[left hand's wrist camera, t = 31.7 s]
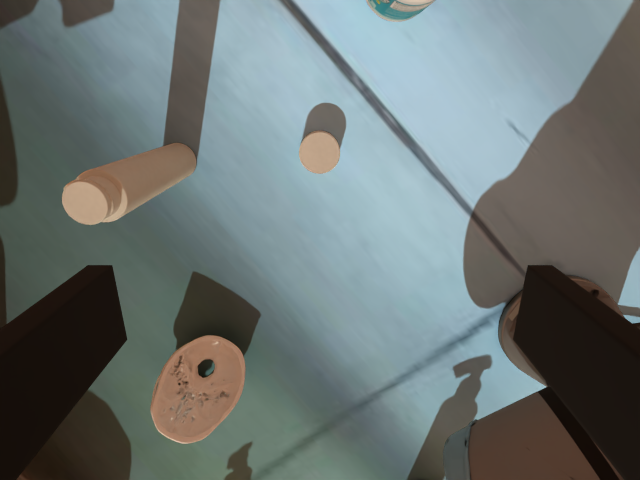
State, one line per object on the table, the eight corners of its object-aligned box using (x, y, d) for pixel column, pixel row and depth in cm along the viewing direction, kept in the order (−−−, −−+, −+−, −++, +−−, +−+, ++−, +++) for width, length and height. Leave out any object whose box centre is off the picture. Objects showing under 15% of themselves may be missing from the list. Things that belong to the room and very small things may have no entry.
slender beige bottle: (203, 160, 46) (125, 203, 28) (182, 184, 47) (93, 241, 29) (175, 135, 45) (75, 162, 27) (154, 160, 46) (43, 203, 28)
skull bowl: (138, 399, 57) (124, 428, 45) (194, 315, 60) (194, 322, 49) (201, 432, 59) (202, 467, 47) (251, 349, 62) (264, 362, 51)
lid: (301, 128, 45) (300, 130, 43) (341, 132, 45) (342, 134, 43) (298, 168, 47) (297, 171, 45) (337, 171, 47) (337, 175, 45)
